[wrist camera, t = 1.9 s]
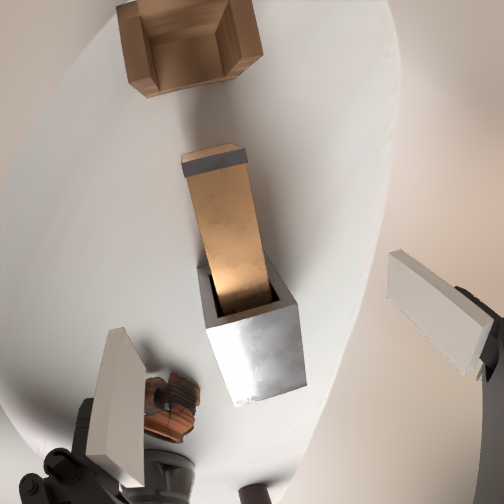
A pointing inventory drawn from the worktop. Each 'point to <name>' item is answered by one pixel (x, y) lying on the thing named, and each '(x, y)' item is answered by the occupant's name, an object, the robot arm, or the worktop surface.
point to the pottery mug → (181, 408)
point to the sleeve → (256, 341)
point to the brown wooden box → (186, 42)
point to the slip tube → (228, 225)
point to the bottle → (254, 495)
